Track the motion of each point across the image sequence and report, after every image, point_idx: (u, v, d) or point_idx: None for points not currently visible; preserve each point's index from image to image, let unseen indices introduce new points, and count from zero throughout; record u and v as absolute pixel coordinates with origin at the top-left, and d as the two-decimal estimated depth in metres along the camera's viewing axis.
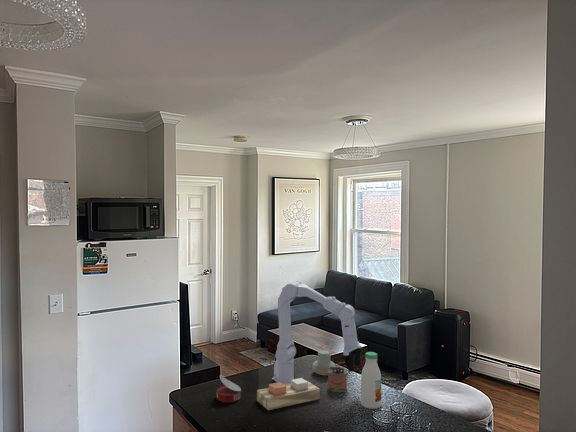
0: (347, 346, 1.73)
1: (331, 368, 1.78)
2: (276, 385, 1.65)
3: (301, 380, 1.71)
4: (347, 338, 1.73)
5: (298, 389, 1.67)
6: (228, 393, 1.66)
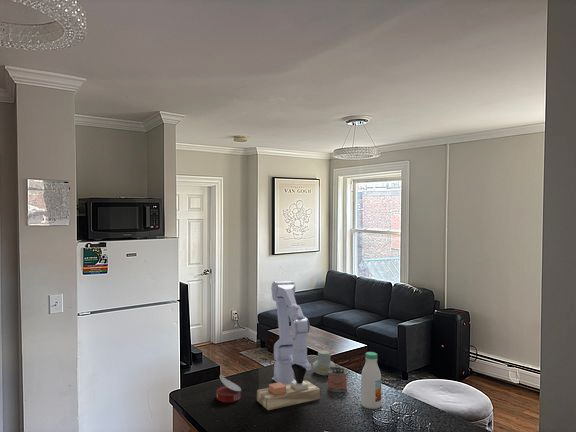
0: None
1: (331, 368, 1.78)
2: (276, 385, 1.65)
3: None
4: None
5: None
6: (228, 393, 1.66)
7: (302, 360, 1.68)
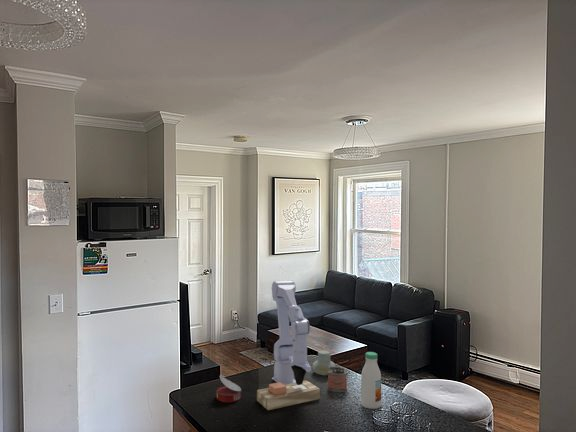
0: None
1: (331, 368, 1.78)
2: (276, 385, 1.65)
3: (301, 386, 1.71)
4: None
5: None
6: (228, 393, 1.66)
7: (302, 361, 1.68)
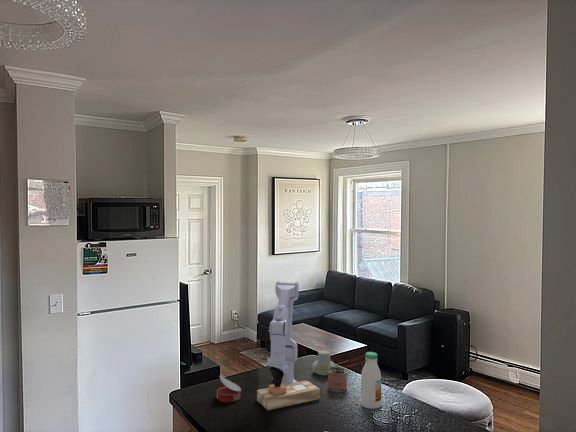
0: None
1: (331, 368, 1.78)
2: None
3: (301, 386, 1.71)
4: None
5: None
6: (228, 393, 1.66)
7: (280, 363, 1.63)
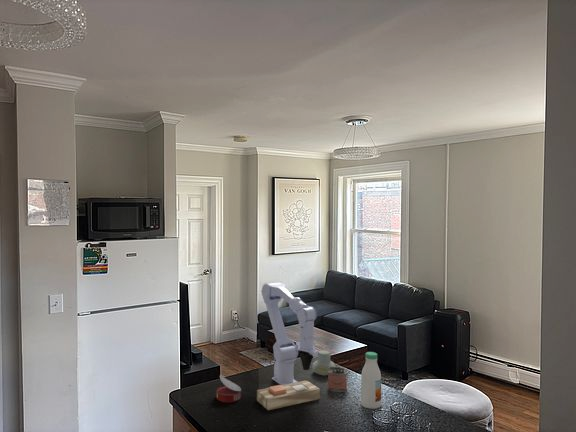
0: None
1: (331, 368, 1.78)
2: (276, 388, 1.65)
3: (301, 386, 1.71)
4: None
5: None
6: (228, 393, 1.66)
7: (309, 347, 1.73)
